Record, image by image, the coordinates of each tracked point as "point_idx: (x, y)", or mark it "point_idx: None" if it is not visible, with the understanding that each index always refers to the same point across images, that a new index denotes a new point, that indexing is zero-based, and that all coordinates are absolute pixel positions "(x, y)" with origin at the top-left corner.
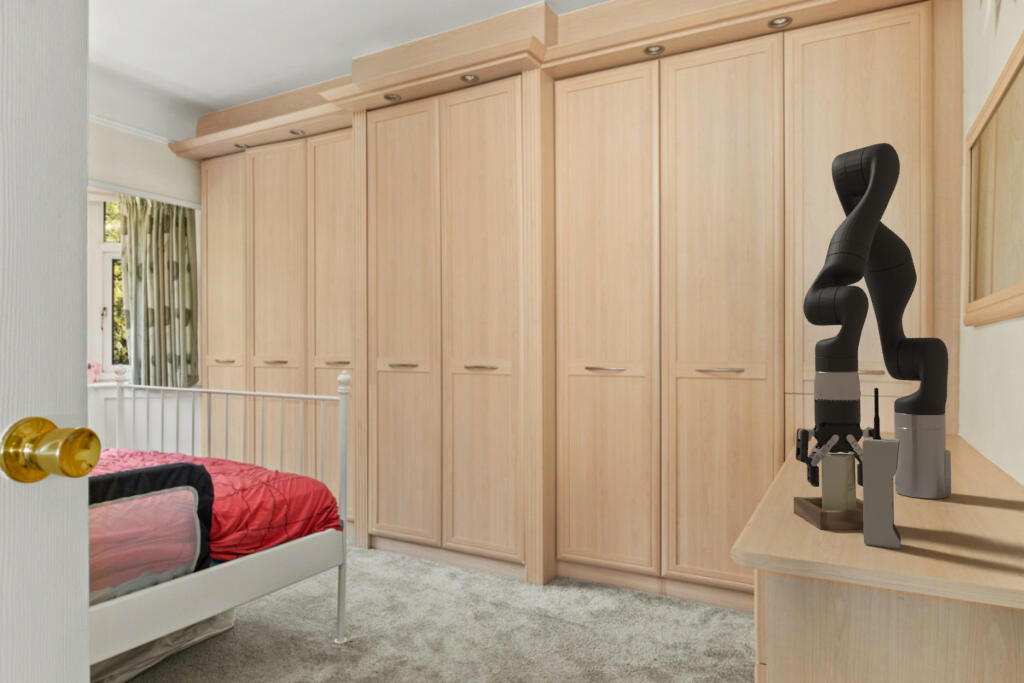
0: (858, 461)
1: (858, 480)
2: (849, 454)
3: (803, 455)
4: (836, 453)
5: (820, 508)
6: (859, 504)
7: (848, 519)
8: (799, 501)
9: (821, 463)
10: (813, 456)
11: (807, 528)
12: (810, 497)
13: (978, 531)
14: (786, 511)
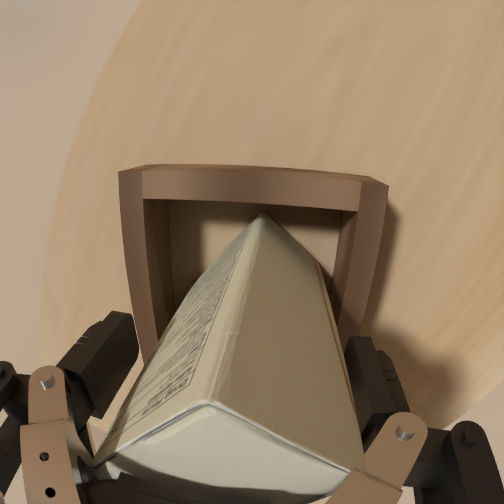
0: (379, 432)
1: (350, 355)
2: (286, 501)
3: (17, 433)
4: (203, 479)
5: (157, 342)
6: (344, 278)
7: None
8: (124, 228)
9: (107, 432)
10: (55, 415)
11: (135, 327)
12: (181, 180)
13: (491, 359)
14: (132, 143)
